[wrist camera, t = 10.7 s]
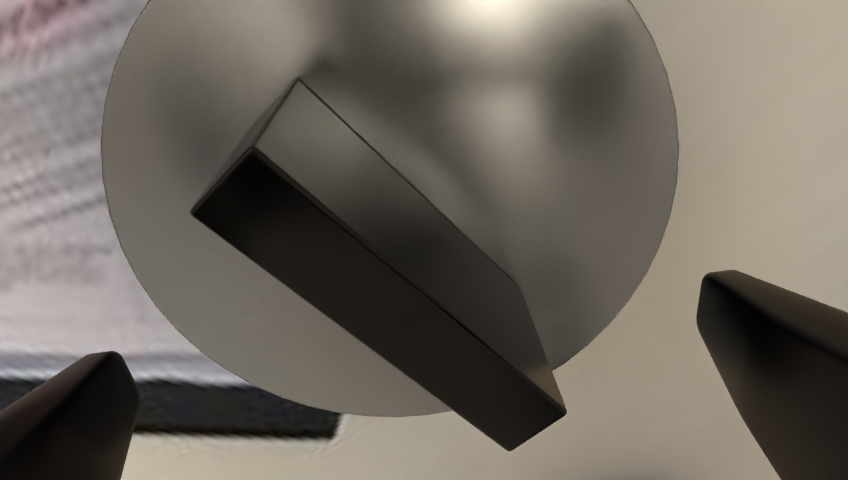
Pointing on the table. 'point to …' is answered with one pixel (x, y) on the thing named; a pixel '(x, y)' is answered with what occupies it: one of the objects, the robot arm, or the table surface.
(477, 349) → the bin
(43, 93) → the table surface
